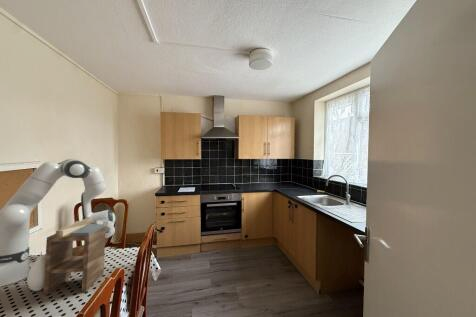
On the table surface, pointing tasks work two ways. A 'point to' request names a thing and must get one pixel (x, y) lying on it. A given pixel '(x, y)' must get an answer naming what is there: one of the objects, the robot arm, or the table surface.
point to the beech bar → (73, 227)
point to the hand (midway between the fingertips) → (86, 222)
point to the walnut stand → (74, 260)
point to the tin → (78, 251)
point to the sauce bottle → (37, 274)
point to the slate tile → (87, 230)
